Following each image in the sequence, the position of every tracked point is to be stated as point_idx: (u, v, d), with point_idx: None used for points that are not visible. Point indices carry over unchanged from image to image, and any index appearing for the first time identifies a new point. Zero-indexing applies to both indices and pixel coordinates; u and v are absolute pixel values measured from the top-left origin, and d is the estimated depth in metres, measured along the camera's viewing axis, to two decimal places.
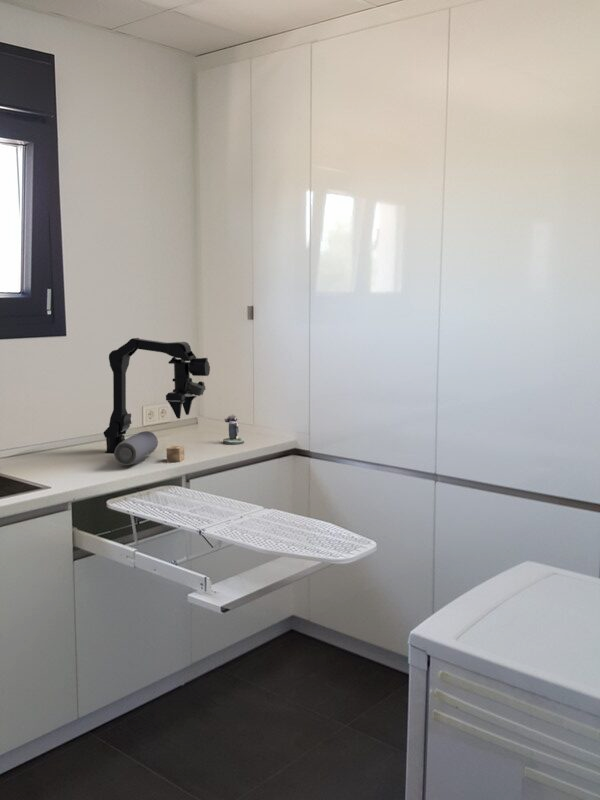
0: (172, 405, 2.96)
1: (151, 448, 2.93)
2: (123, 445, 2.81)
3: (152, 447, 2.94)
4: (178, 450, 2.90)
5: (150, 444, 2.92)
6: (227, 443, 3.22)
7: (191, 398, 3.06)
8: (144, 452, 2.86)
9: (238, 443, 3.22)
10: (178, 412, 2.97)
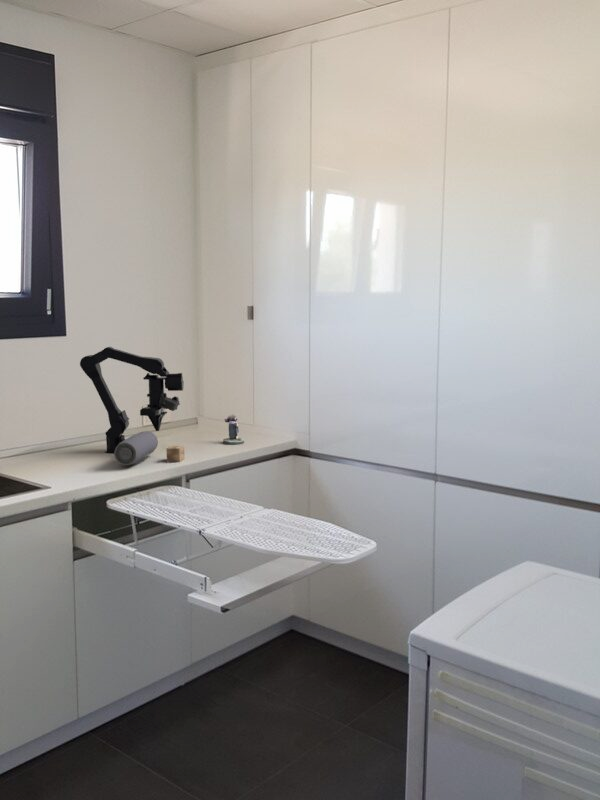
0: (151, 418, 3.08)
1: (151, 448, 2.93)
2: (123, 445, 2.81)
3: (152, 447, 2.94)
4: (178, 450, 2.90)
5: (150, 444, 2.92)
6: (227, 443, 3.22)
7: (161, 414, 3.09)
8: (144, 452, 2.86)
9: (238, 443, 3.22)
10: (157, 425, 3.08)
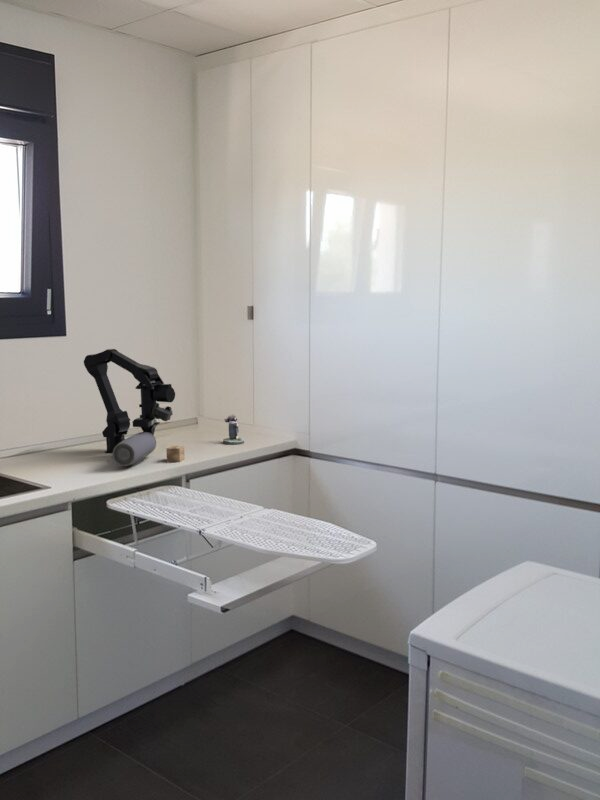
0: (144, 429, 3.00)
1: (149, 449, 2.92)
2: (121, 446, 2.79)
3: (150, 448, 2.93)
4: (178, 450, 2.90)
5: (148, 445, 2.90)
6: (227, 443, 3.22)
7: None
8: (142, 453, 2.84)
9: (238, 443, 3.22)
10: None
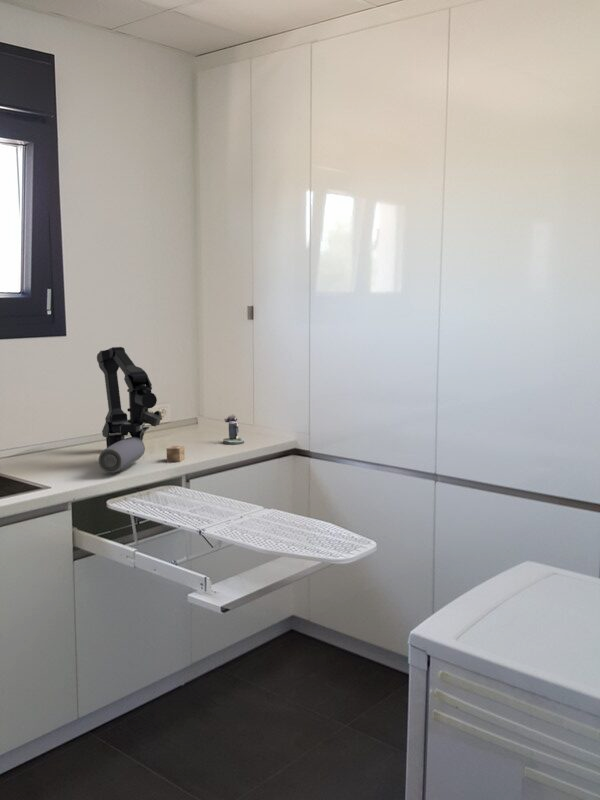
0: (132, 434, 2.91)
1: (137, 454, 2.82)
2: (108, 452, 2.69)
3: (139, 453, 2.83)
4: (178, 450, 2.90)
5: (136, 450, 2.80)
6: (227, 443, 3.22)
7: None
8: (130, 459, 2.74)
9: (238, 443, 3.22)
10: None
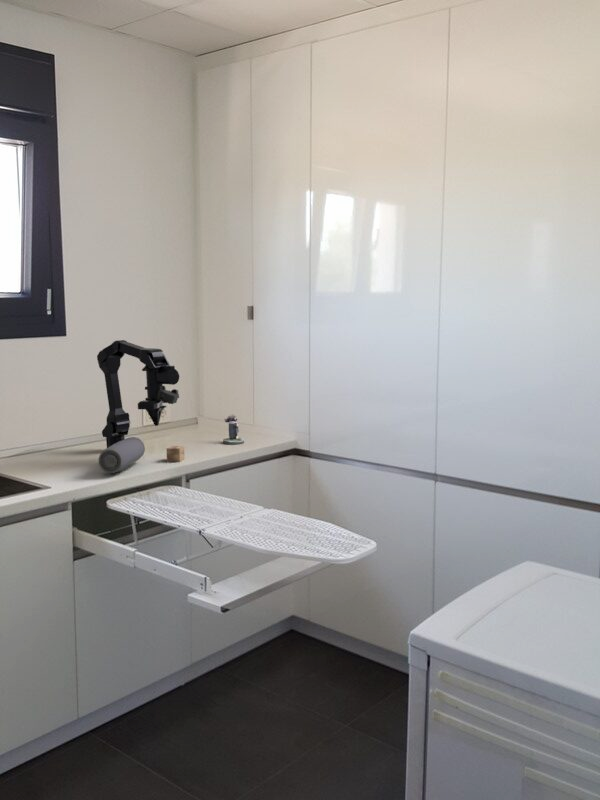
0: (149, 412, 2.92)
1: (137, 455, 2.82)
2: (108, 452, 2.69)
3: (139, 454, 2.83)
4: (178, 450, 2.90)
5: (136, 451, 2.80)
6: (227, 443, 3.22)
7: (160, 408, 2.94)
8: (130, 459, 2.74)
9: (238, 443, 3.22)
10: (156, 419, 2.93)
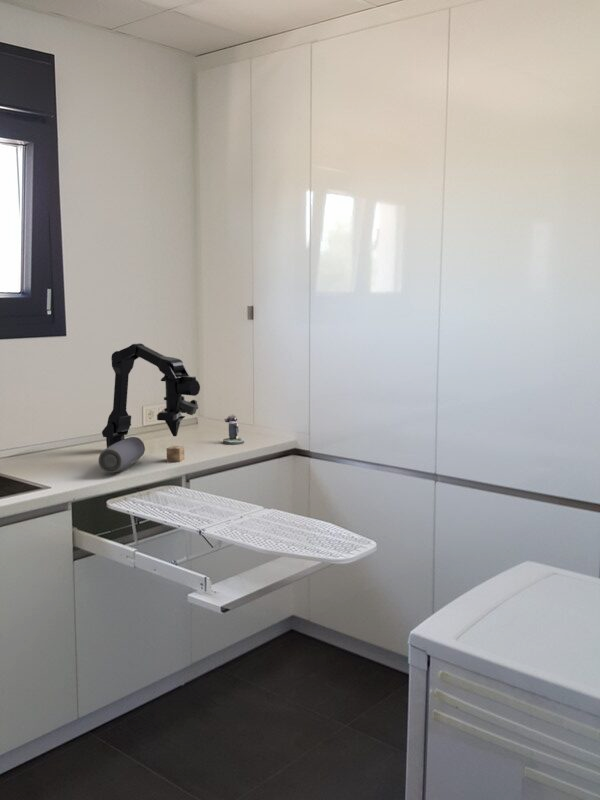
0: (168, 423, 2.90)
1: (137, 455, 2.82)
2: (108, 452, 2.69)
3: (139, 453, 2.83)
4: (178, 450, 2.90)
5: (136, 450, 2.80)
6: (227, 443, 3.22)
7: None
8: (130, 459, 2.74)
9: (238, 443, 3.22)
10: (174, 430, 2.91)
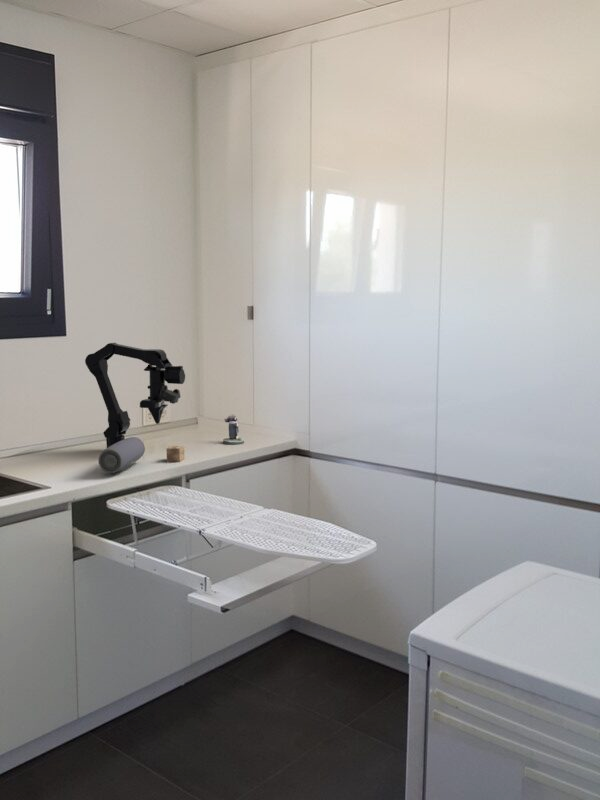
0: (151, 410, 3.03)
1: (137, 455, 2.82)
2: (108, 452, 2.69)
3: (139, 454, 2.83)
4: (178, 450, 2.90)
5: (136, 451, 2.80)
6: (227, 443, 3.22)
7: None
8: (130, 459, 2.74)
9: (238, 443, 3.22)
10: (157, 417, 3.03)
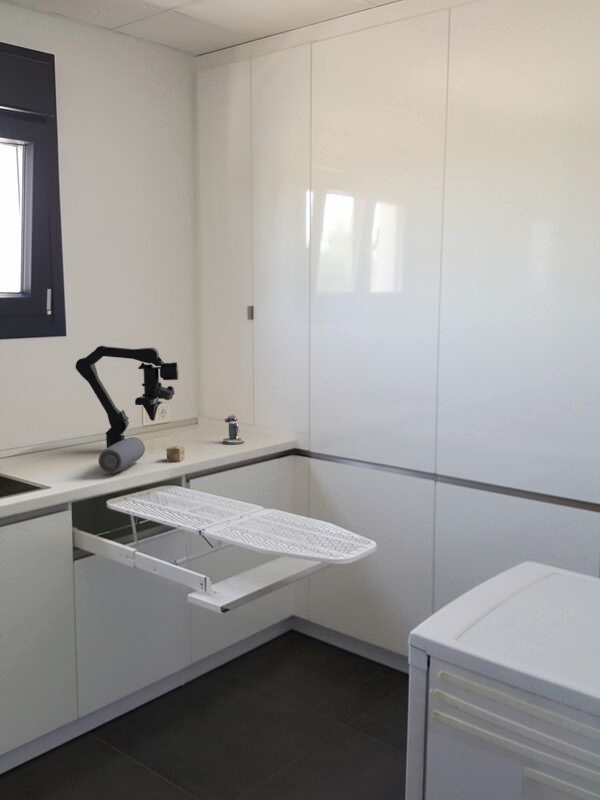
0: (146, 408, 3.07)
1: (137, 455, 2.82)
2: (108, 452, 2.69)
3: (139, 454, 2.83)
4: (178, 450, 2.90)
5: (136, 451, 2.80)
6: (227, 443, 3.22)
7: None
8: (130, 459, 2.74)
9: (238, 443, 3.22)
10: (152, 414, 3.08)
